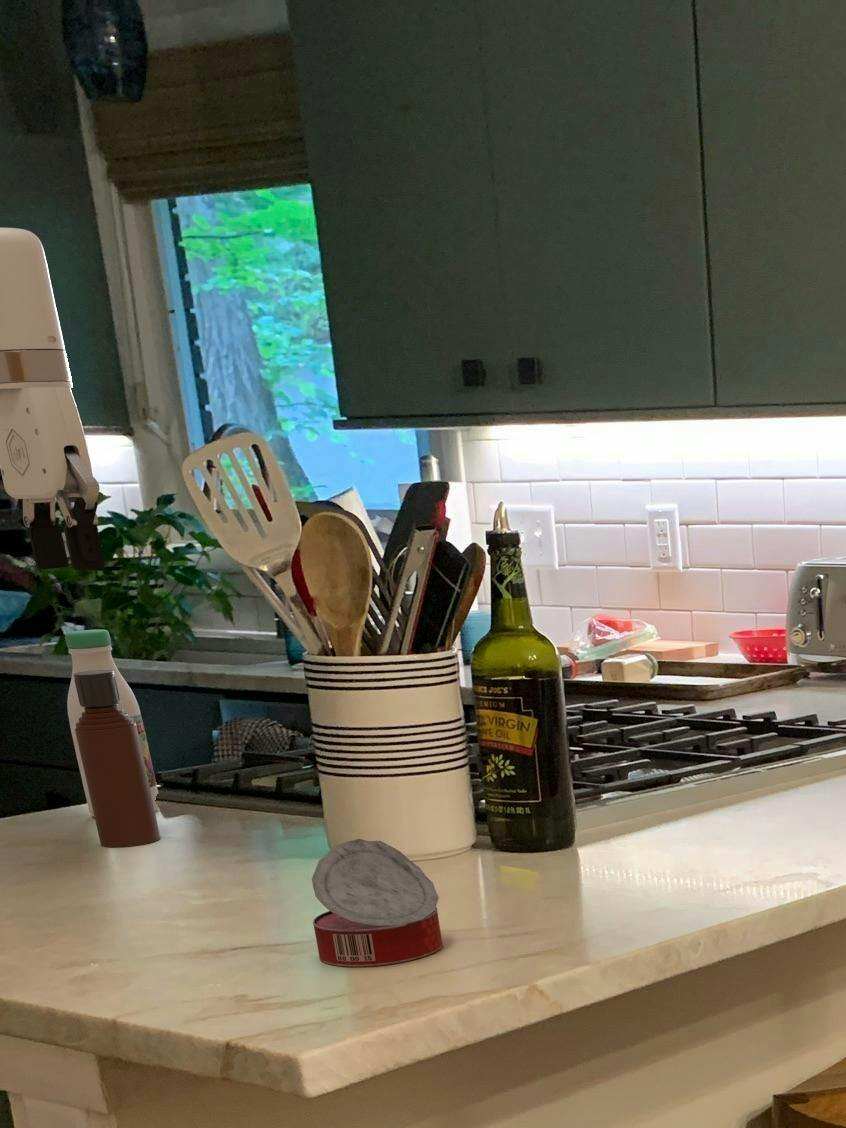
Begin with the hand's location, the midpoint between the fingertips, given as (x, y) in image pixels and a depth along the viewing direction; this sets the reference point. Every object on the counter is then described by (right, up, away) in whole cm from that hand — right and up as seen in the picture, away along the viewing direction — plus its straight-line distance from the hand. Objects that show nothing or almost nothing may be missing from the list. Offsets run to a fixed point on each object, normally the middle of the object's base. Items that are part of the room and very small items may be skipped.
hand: (70, 567), depth 195 cm
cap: (+1, -12, +6) cm, 13 cm away
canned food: (+43, -45, -37) cm, 72 cm away
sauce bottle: (+1, -25, +11) cm, 28 cm away
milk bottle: (-6, -18, +27) cm, 34 cm away
